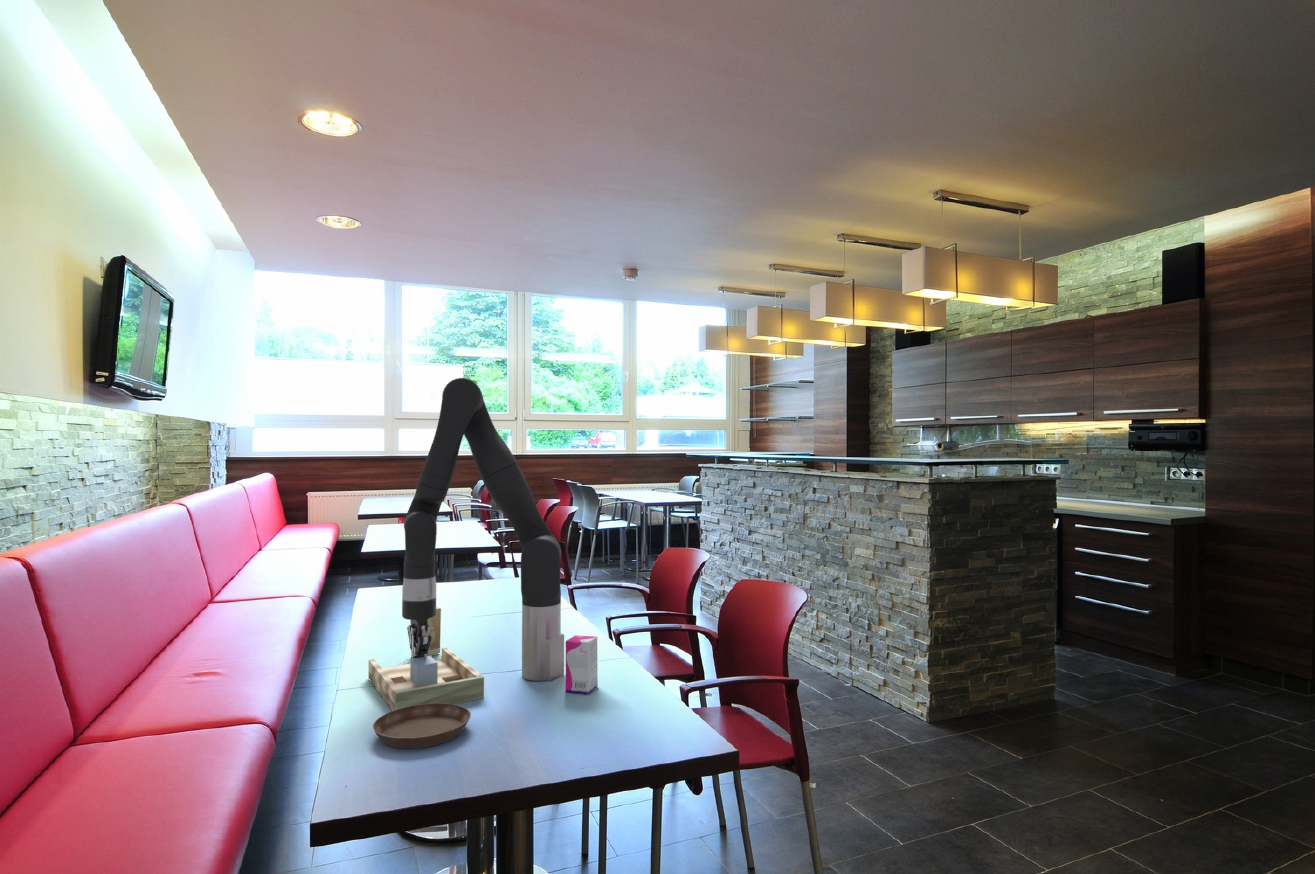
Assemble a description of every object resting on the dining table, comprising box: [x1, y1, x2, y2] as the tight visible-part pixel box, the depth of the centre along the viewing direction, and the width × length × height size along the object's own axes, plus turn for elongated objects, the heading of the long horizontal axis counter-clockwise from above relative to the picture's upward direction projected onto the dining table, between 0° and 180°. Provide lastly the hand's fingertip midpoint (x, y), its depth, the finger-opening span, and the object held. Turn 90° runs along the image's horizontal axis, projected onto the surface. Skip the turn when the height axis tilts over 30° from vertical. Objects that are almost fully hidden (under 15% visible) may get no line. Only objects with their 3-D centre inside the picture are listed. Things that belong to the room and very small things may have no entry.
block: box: [409, 656, 438, 686], centre depth 157 cm, size 6×4×4 cm
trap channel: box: [367, 647, 485, 711], centre depth 158 cm, size 27×18×4 cm
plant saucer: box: [372, 703, 472, 749], centre depth 133 cm, size 18×18×3 cm
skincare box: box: [410, 606, 442, 657], centre depth 183 cm, size 6×4×12 cm
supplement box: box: [565, 634, 599, 695], centre depth 157 cm, size 6×6×12 cm
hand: (418, 671), depth 161 cm, fingers closed
